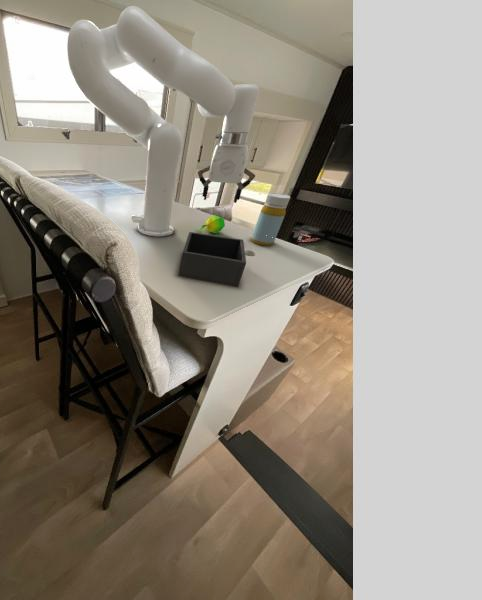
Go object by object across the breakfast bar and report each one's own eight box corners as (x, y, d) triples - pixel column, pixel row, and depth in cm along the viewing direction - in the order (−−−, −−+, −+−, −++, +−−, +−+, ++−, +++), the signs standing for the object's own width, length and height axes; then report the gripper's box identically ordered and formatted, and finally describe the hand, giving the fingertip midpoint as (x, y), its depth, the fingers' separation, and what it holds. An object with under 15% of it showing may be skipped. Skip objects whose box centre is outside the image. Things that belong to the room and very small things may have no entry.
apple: (225, 210, 88) (205, 212, 84) (231, 226, 87) (211, 229, 83) (212, 221, 94) (193, 223, 91) (218, 236, 93) (199, 239, 90)
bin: (178, 275, 64) (182, 252, 60) (185, 252, 76) (189, 231, 72) (237, 287, 61) (246, 262, 57) (236, 261, 72) (243, 239, 68)
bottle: (275, 247, 81) (295, 199, 73) (252, 244, 82) (269, 197, 74) (270, 239, 87) (287, 193, 78) (249, 237, 88) (264, 191, 79)
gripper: (202, 139, 73) (192, 200, 83) (266, 141, 69) (248, 206, 79) (204, 137, 79) (194, 195, 89) (263, 140, 74) (246, 200, 84)
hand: (219, 200), depth 84 cm, fingers open, 9 cm apart
